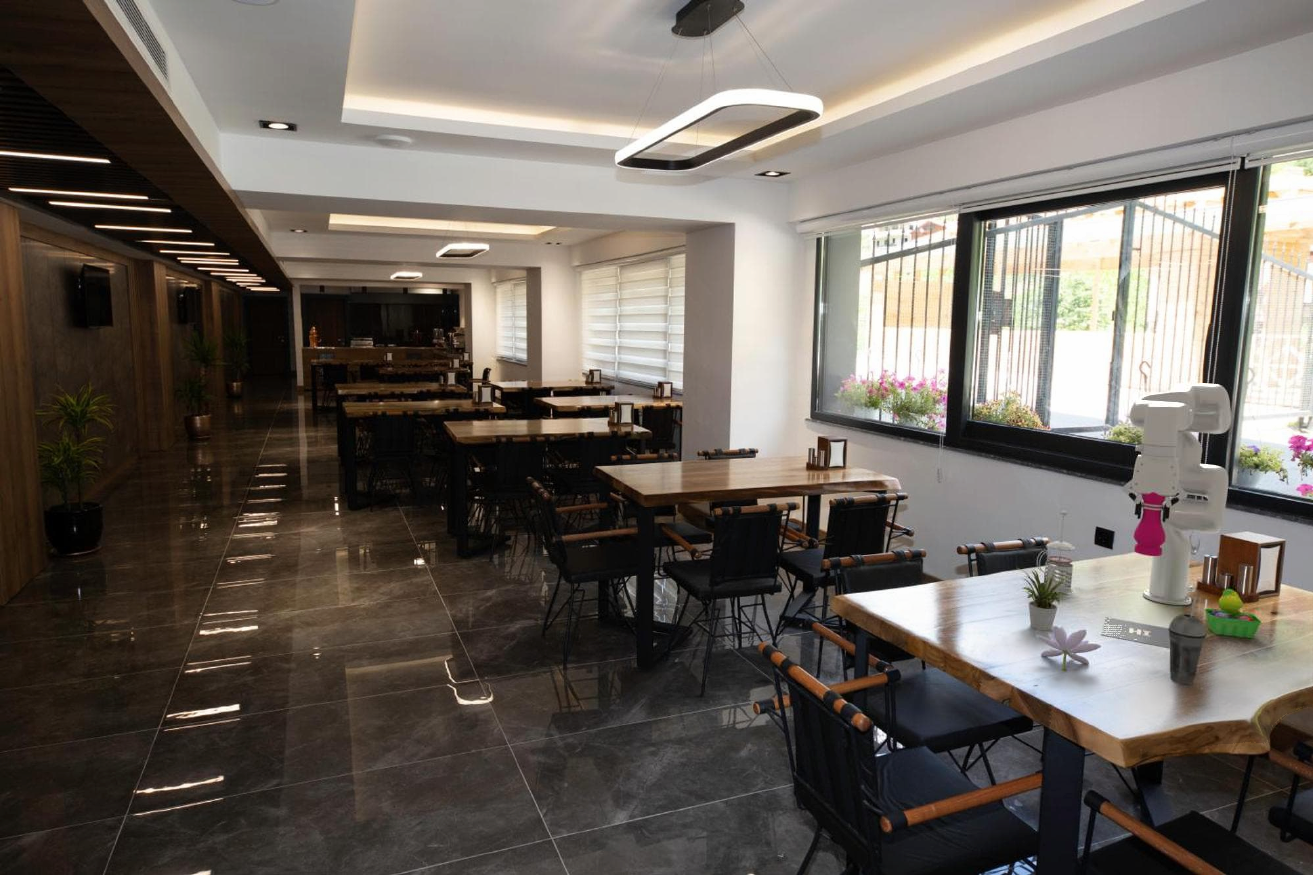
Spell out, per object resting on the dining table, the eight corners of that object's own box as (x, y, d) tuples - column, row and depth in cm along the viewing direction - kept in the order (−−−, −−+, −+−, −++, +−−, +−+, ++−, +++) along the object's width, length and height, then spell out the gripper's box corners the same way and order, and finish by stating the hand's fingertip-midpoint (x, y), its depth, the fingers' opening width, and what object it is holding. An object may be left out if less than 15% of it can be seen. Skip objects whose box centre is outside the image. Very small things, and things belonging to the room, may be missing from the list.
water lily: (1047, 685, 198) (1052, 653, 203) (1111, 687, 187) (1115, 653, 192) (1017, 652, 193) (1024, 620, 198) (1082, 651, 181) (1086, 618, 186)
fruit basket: (1210, 634, 217) (1214, 594, 216) (1200, 624, 225) (1205, 584, 224) (1260, 641, 213) (1265, 599, 212) (1249, 630, 221) (1253, 590, 220)
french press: (1080, 594, 250) (1088, 515, 247) (1042, 593, 250) (1049, 514, 247) (1065, 584, 259) (1071, 508, 256) (1028, 583, 259) (1035, 507, 256)
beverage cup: (1155, 673, 189) (1164, 591, 187) (1184, 673, 190) (1194, 591, 188) (1178, 687, 182) (1187, 601, 180) (1208, 686, 183) (1218, 601, 180)
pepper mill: (1155, 550, 218) (1162, 477, 215) (1169, 557, 210) (1177, 482, 208) (1127, 548, 218) (1134, 476, 216) (1140, 556, 211) (1147, 480, 209)
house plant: (999, 625, 220) (1004, 567, 218) (1017, 613, 230) (1022, 558, 228) (1055, 639, 210) (1060, 578, 208) (1071, 626, 220) (1076, 568, 218)
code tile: (1101, 634, 214) (1101, 634, 214) (1105, 617, 229) (1105, 616, 229) (1177, 649, 205) (1177, 648, 205) (1176, 630, 220) (1177, 629, 220)
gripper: (1120, 450, 212) (1113, 517, 215) (1197, 456, 203) (1190, 527, 206) (1121, 447, 219) (1115, 512, 221) (1196, 453, 210) (1189, 521, 212)
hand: (1151, 518), depth 213 cm, fingers closed on pepper mill, 5 cm apart
